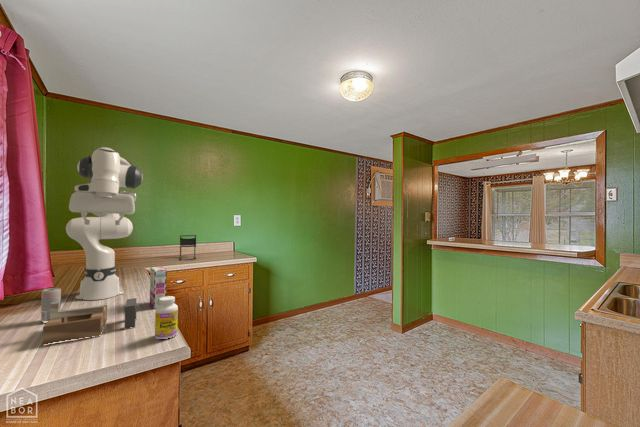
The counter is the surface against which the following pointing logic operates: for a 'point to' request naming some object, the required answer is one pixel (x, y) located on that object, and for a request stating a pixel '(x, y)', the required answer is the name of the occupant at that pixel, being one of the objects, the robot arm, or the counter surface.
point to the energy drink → (49, 301)
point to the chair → (186, 242)
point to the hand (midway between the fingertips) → (102, 224)
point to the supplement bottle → (166, 318)
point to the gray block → (130, 313)
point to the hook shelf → (74, 323)
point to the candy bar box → (157, 285)
